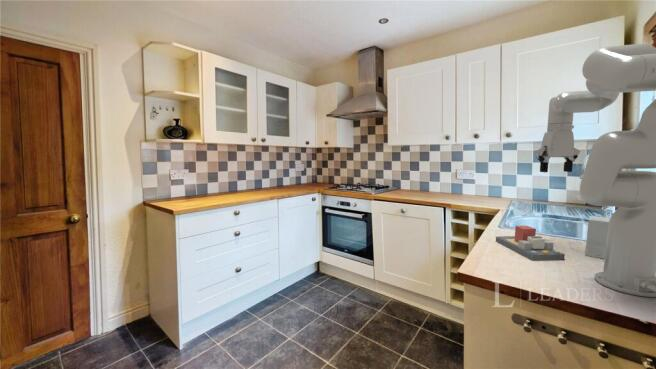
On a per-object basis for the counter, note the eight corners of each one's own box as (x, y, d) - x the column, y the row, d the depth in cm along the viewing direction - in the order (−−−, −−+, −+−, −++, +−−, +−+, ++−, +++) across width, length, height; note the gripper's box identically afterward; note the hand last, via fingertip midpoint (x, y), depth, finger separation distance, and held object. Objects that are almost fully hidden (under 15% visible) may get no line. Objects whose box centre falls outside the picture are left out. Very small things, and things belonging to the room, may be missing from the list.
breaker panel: (564, 259, 93) (565, 247, 93) (532, 260, 93) (533, 247, 92) (522, 240, 113) (522, 230, 112) (495, 241, 113) (496, 230, 112)
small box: (610, 260, 92) (614, 222, 91) (584, 255, 97) (588, 219, 95) (610, 253, 98) (614, 218, 96) (586, 249, 102) (589, 215, 101)
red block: (534, 244, 102) (535, 229, 101) (522, 244, 102) (523, 229, 101) (526, 240, 106) (527, 225, 106) (514, 240, 106) (515, 225, 106)
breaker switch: (544, 248, 97) (545, 237, 97) (533, 248, 97) (533, 238, 97) (537, 245, 100) (538, 235, 100) (526, 245, 100) (527, 235, 100)
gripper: (572, 128, 111) (568, 170, 113) (530, 129, 111) (527, 171, 113) (590, 127, 104) (585, 172, 106) (545, 128, 104) (541, 173, 106)
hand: (555, 171), depth 110 cm, fingers open, 9 cm apart
